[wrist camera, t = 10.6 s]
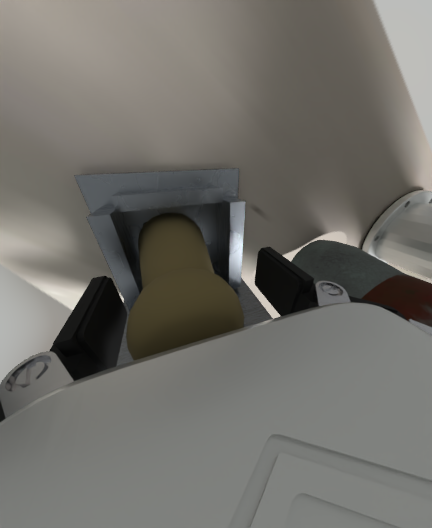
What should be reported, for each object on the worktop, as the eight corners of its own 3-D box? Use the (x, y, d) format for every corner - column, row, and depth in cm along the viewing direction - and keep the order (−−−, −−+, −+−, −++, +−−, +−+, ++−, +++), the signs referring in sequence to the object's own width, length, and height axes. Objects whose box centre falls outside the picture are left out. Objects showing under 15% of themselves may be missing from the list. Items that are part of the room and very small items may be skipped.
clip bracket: (234, 168, 14) (337, 167, 6) (231, 276, 21) (280, 346, 12) (80, 174, 11) (-115, 191, 3) (132, 298, 18) (110, 409, 10)
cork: (125, 222, 13) (51, 346, 4) (196, 205, 14) (269, 272, 5) (152, 279, 16) (147, 417, 7) (208, 262, 17) (265, 363, 8)
